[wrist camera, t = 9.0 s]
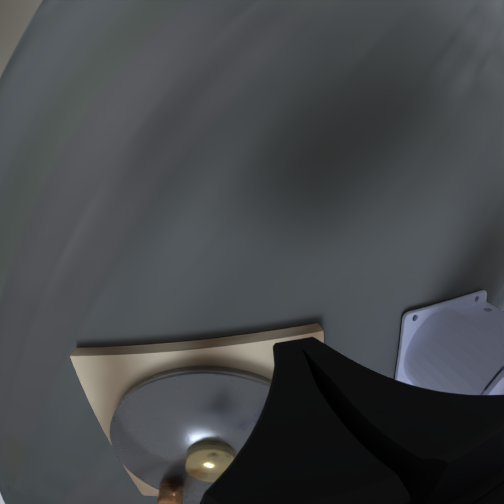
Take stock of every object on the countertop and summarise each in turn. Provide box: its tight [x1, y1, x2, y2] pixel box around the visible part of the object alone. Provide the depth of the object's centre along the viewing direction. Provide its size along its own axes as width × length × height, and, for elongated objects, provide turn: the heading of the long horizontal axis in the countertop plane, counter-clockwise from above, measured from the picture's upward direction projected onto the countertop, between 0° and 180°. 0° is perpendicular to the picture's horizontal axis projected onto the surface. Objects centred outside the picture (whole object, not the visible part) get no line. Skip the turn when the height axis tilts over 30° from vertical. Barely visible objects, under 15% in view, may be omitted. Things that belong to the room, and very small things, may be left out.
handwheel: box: [110, 366, 272, 504], centre depth 17 cm, size 15×15×5 cm
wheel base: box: [70, 323, 324, 496], centre depth 20 cm, size 17×17×1 cm
